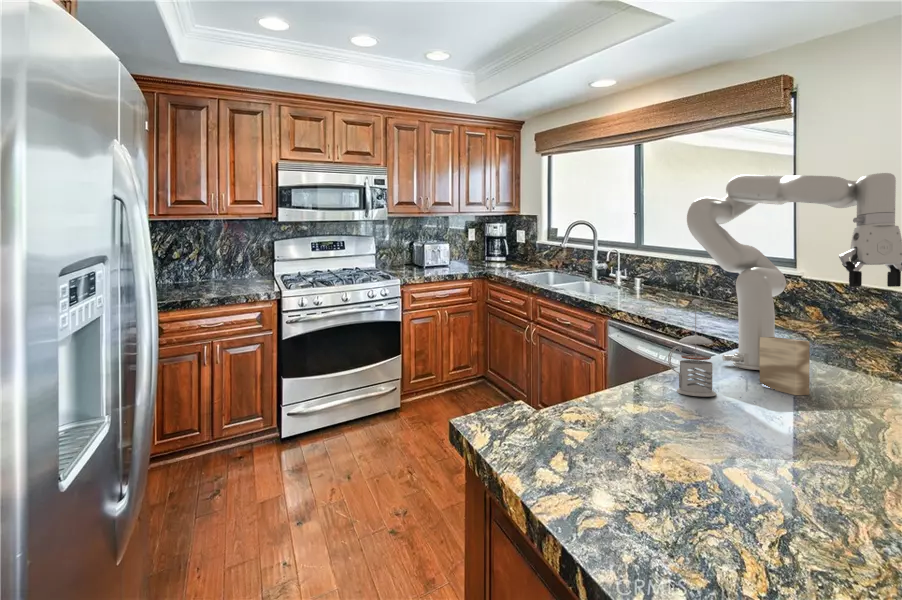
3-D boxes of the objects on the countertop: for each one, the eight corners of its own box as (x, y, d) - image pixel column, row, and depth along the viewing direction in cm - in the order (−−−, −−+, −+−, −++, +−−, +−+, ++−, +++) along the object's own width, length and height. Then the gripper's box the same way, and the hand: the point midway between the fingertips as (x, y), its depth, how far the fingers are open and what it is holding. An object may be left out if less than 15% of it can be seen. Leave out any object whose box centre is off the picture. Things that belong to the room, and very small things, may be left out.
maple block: (795, 395, 119) (795, 341, 119) (759, 386, 131) (759, 337, 131) (809, 394, 120) (809, 341, 119) (772, 385, 131) (772, 336, 131)
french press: (722, 397, 117) (723, 299, 117) (673, 395, 120) (674, 299, 119) (709, 389, 127) (709, 299, 127) (664, 387, 129) (664, 299, 129)
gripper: (852, 219, 118) (851, 286, 118) (923, 219, 117) (922, 286, 117) (830, 224, 126) (829, 286, 126) (897, 223, 125) (896, 286, 125)
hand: (874, 286), depth 122 cm, fingers open, 9 cm apart
